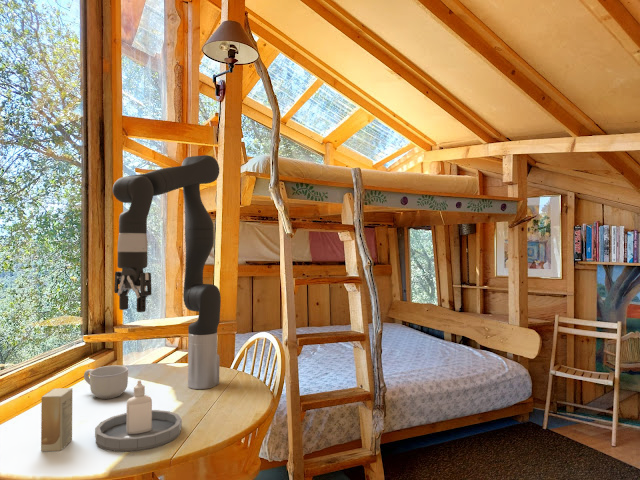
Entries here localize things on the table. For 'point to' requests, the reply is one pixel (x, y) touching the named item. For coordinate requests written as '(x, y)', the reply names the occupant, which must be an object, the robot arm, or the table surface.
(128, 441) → the round tray
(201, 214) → the robot arm
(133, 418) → the eye dropper bottle
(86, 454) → the table surface
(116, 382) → the teacup
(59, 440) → the skincare box
